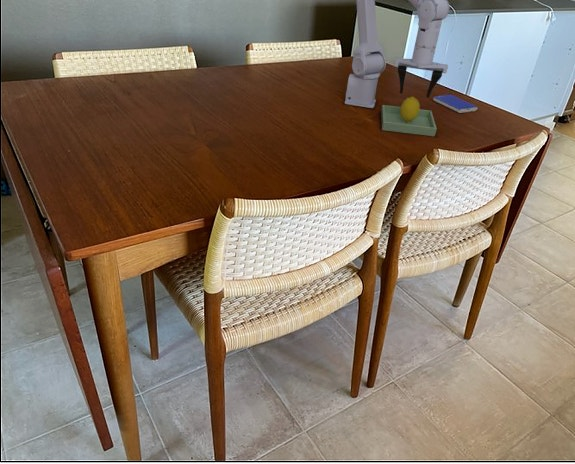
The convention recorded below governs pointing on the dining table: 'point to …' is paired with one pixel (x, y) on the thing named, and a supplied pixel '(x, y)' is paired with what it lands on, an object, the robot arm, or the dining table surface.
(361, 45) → the robot arm
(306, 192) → the dining table surface
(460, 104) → the hard drive
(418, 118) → the tray
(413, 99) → the lemon
